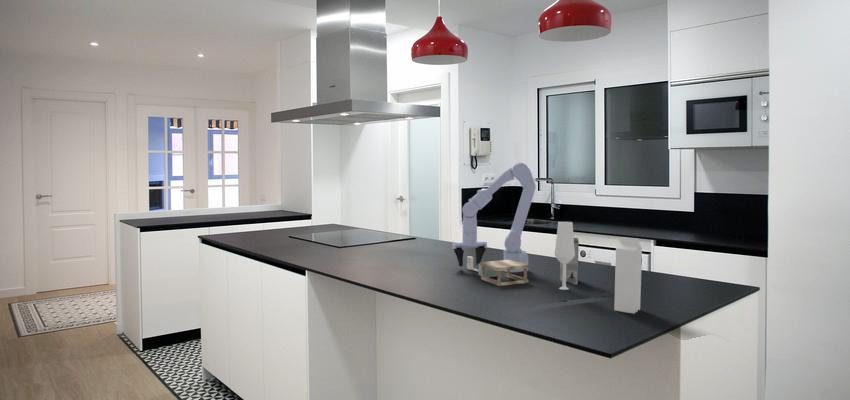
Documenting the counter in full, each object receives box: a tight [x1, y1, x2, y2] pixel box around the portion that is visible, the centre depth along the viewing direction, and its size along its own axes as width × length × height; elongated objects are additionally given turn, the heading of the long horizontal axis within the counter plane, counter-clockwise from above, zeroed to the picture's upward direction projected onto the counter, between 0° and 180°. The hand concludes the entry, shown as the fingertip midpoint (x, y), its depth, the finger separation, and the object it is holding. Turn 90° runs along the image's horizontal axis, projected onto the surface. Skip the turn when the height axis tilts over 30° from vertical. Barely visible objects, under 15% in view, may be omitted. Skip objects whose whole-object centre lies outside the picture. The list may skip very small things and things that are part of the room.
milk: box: [613, 236, 643, 314], centre depth 172 cm, size 6×6×22 cm
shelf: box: [480, 259, 530, 287], centre depth 211 cm, size 13×20×8 cm, turn 26°
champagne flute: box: [554, 221, 575, 291], centre depth 195 cm, size 7×7×24 cm
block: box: [466, 255, 498, 278], centre depth 223 cm, size 6×18×5 cm, turn 26°
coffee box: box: [559, 237, 580, 286], centre depth 211 cm, size 9×6×16 cm
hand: (469, 265), depth 230 cm, fingers open, 7 cm apart
